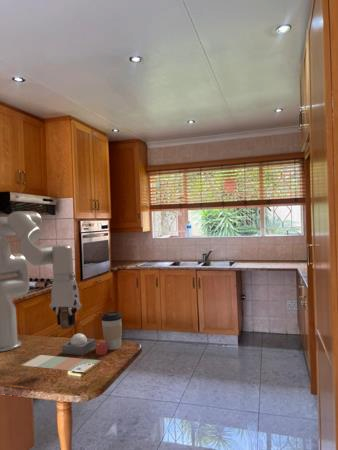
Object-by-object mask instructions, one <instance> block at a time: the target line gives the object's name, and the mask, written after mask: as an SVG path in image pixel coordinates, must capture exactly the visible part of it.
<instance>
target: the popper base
mask: <svg viewBox="0 0 338 450" xmlns="http://www.w3.org/2000/svg"><path fill="white" fill-rule="evenodd" d="M70 342H71V340H69V341H68V342H65V343H63V344H61V351H62V352H61V353H62V354H63V355H75V356H76V355H77V356H84V355H86V354H87V353H88V352H90V351H92V350H93V349H96V344H97V343H96V338H87V343H85V344H83V345H82V346H79V345H70Z"/></svg>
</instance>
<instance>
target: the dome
mask: <svg viewBox="0 0 338 450" xmlns="http://www.w3.org/2000/svg"><path fill="white" fill-rule="evenodd" d="M87 339H88V338H87V337H86V335H85V334H83V333H79V332H78V333H76V334H73V335H72V337H71V338H70V341H71V342H70V345H79V346H82V345H83V344H85V343H87Z"/></svg>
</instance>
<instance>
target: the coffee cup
mask: <svg viewBox="0 0 338 450" xmlns="http://www.w3.org/2000/svg"><path fill="white" fill-rule="evenodd" d="M122 318H123V316H122V315H121V314H120V312H118V311H108V312H105V313H103V315H102V316H101V319H100V320H101V327H102V335H103V339H104V341H103V342H107V350H111V351H112V350H119V349H120V348H122V334H123V333H122V331H123V330H122V329H123V328H122V327H123V325H122V324H123V323H122Z"/></svg>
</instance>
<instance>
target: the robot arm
mask: <svg viewBox="0 0 338 450" xmlns="http://www.w3.org/2000/svg"><path fill="white" fill-rule="evenodd" d="M42 218H43V217H42V216H41V214H39V212H36V211H34V210H33V211H25V210H24V211H23V210H22V211H21V210H19V211H13V212H11V213H10V214H8V216H0V276H6V275H8V276H9V275H14V276H9V277H3V278H0V352H6V351H7V352H8V351H12V350H15V349H17V348H19V347H20V346H22V341H21V340H18V329H17V327H18V323H17V308H16V305H15V303H14V302H13V301H12V300H11V299H12V298H17V297H21V296H25V295H27V294H28V292H29V290H30V274H29V263H30V265H33V266H37V267H38V266H39V267H40V266H47V265H52V273H53V275H52V276H53V277H52V278H53V281H52V284H51V294H50V295H51V296H50V297H51V300H50V303H49V308H51V309H52V310H53V312H54V313H55V315H56V321H57V325H58V326H60V312H61V311H60V307H68V311H69V314H70V315H68V322H69V326H71V325H72V326H73V325H75V324H76V313H77V312H78V310H80V309H81V308H82V307H83V305H82V303H81V302H80V291H79V288H78V283H77V280H76V279H75V278H76V277H77V275H76V274H75V273H74V262H73V261H74V260H73V256H74V255H73V247H72V246H71V245H67V244H66V245H60V244H52V245H50V244H49V245H38V246H37V245H35V243H36V242H38V241H39V240H40V238H41V236H42V230H41V227H42V224H43V219H42ZM5 236H17V237H18V238H19V239H20V245H19V246H20V252H21V253H19V252H18V253H11V245H10V243H9V241H8V239H7V238H6V237H5Z"/></svg>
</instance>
